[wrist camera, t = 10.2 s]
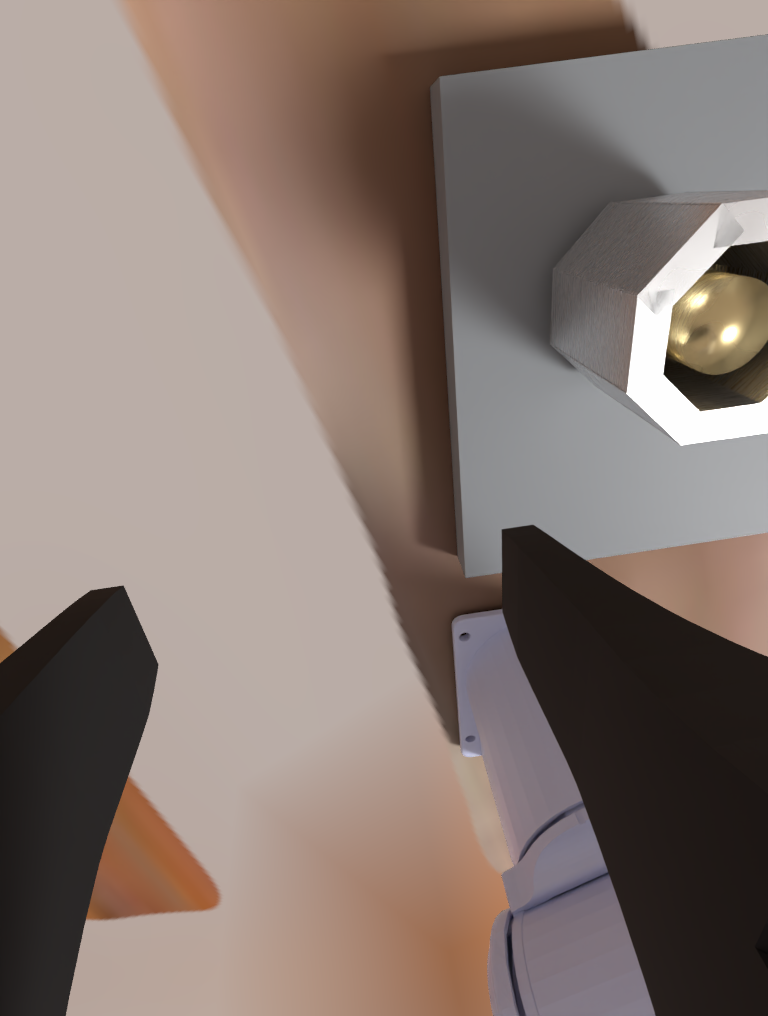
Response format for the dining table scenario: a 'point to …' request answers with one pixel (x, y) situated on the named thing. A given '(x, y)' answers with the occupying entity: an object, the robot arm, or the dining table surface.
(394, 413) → the dining table surface
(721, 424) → the steel collar
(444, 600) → the dining table surface
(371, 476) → the dining table surface
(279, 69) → the dining table surface
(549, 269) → the post board
